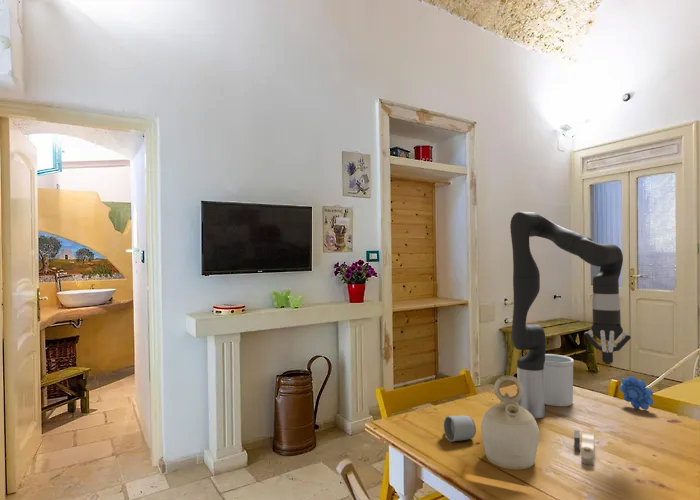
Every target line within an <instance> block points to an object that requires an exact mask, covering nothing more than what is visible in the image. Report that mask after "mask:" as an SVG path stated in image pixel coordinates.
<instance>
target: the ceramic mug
mask: <svg viewBox="0 0 700 500" xmlns="http://www.w3.org/2000/svg"><path fill="white" fill-rule="evenodd" d="M443 432H444V434H445V437H446V439H447V440H448V441H449V442H450V443H451V442H461V441H468V440H470V439H471V440H472V439H474V437H475V436H476V432H477V427H476V423H475V420H474V419H473V417H472V416H470V415H469V416H468V415H447V416H445V418H444V420H443Z"/></svg>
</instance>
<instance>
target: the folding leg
mask: <svg viewBox="0 0 700 500" xmlns="http://www.w3.org/2000/svg"><path fill="white" fill-rule="evenodd" d="M581 436H582V437H581V444H580V452H581V453H580V454H581V457H580V458H581V460H580V461H581V463H582V464H583V465H586V466H594V463H595V433H594V432H589V431H582V435H581Z"/></svg>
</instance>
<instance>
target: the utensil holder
mask: <svg viewBox="0 0 700 500" xmlns="http://www.w3.org/2000/svg"><path fill="white" fill-rule="evenodd" d="M574 363H575V360H574V359H573V358H572V357H570V356H568V355H562V354H561V355H560V354H553V353H545V363H544V394H545V405H547V406H552V407H570V406H571V405H573V401H574V397H573V396H574Z"/></svg>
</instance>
